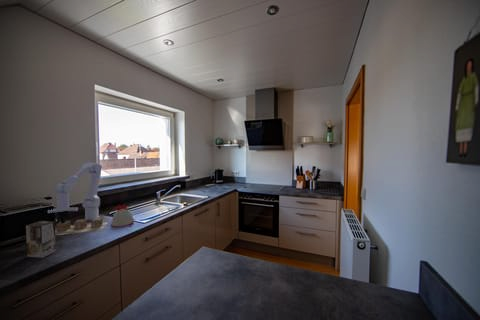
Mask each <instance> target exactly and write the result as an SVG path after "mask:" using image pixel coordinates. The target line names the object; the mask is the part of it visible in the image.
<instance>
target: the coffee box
mask: <svg viewBox="0 0 480 320" xmlns="http://www.w3.org/2000/svg"><path fill="white" fill-rule="evenodd" d="M25 230H26V231H25V233H26V234H25V235H26V236H25V237H26V239H25V240H26V257H28V258H29V257H30V258H41V259H43V258H45V257H47V256H49V255H51V254H53V253H55V252H56V249H57V248H56V247H57V246H56V243H57V242H56V235H55V230H56V221H51V220H49V221H48V220H38V221H36V222H33V223H30V224H26V225H25Z"/></svg>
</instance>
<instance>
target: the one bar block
mask: <svg viewBox="0 0 480 320" xmlns="http://www.w3.org/2000/svg"><path fill="white" fill-rule="evenodd" d="M87 223H88V220H87V219H85V218H84V219H82V218H81V219H77V220H76V221H74V224H73V225H74V230H80V229H84V228H86V227H87Z"/></svg>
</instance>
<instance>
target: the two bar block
mask: <svg viewBox="0 0 480 320" xmlns="http://www.w3.org/2000/svg"><path fill="white" fill-rule="evenodd" d="M103 219H104V218H103V217H97V218H94V219H93V220H90V223H91V228H98V227H101V226H102V225H103V222H104V221H103Z"/></svg>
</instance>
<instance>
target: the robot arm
mask: <svg viewBox="0 0 480 320" xmlns="http://www.w3.org/2000/svg"><path fill="white" fill-rule="evenodd" d="M102 168H103V166H102V165H101V163H99V162H85V163H84V164H82V166H81V168H80V169H79V170H78V171H77V172H76V173H75V174H73V175H69V176H68V177H67V178H66V179H65V180H63V181H62V182H61V183H59V184H57V185H55V186H54V189H53V191H54V192H55V195H56V208H51V210H49V209H48V210H47V214H51V213H56V216H57V217H58V218H59V222H61V223H65V222H66V221H67V218H68V216H69V214H70V212H78V210H79V207H75V206H73V207H70V192H72V190H73V188H74V186H75V185H76V184H77V183H78V182H80V178H81V177H83V176H84V175H85V174H87V173H89V174H90V175H91V178H90V184H89V189H88V194H87V196H85V197H84V198H83V199H84V200H83V201H82V204H81V205H82V207H83V208H84V211H85V212H84V213H85V215H84V217H85V218H84V219H87V221H92V220H93V219H94V218H101V216H100V213H99V207H100V205H101V198H100V196H98V193H99V192H98V191H99V187H100V180H101V175H102ZM52 209H53V210H52Z"/></svg>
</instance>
